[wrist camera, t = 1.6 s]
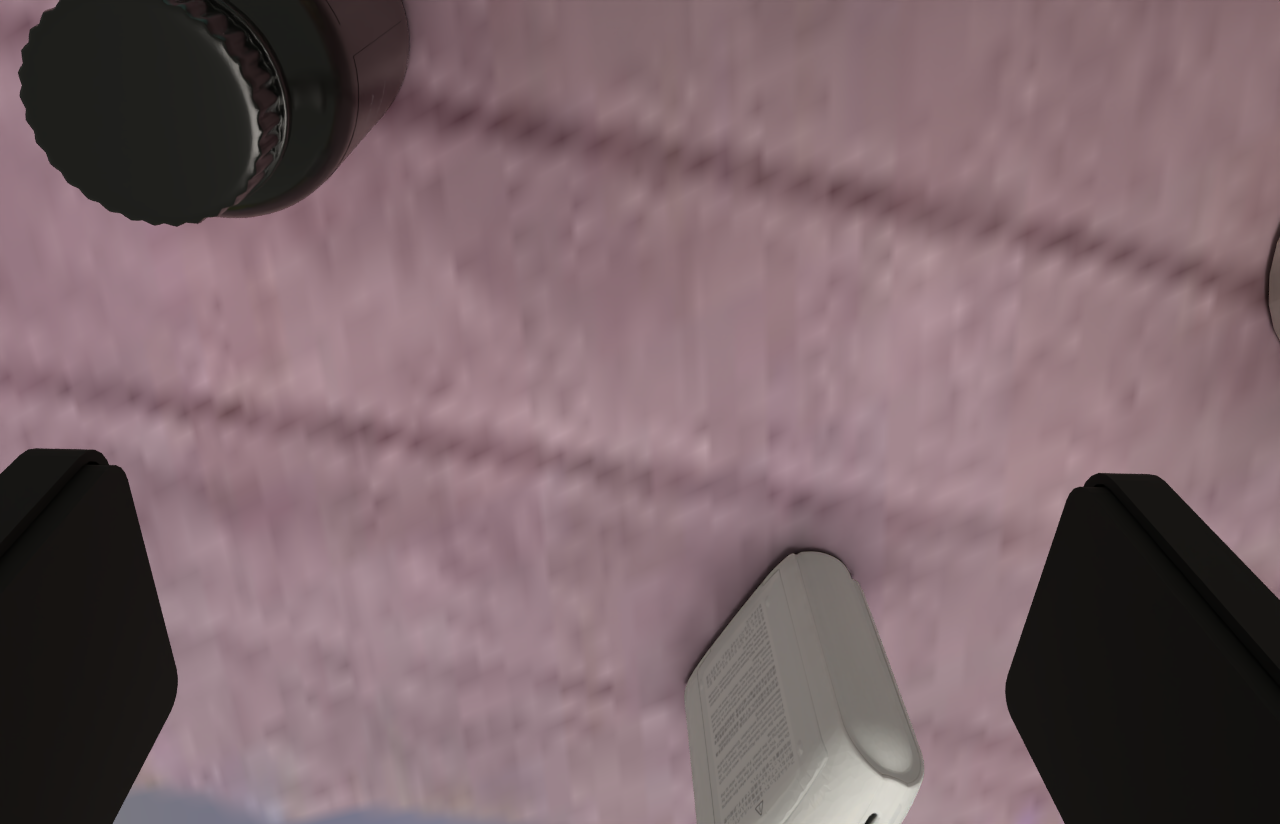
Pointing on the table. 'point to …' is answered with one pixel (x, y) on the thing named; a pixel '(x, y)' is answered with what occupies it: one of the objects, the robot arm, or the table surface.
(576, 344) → the table surface
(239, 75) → the supplement bottle
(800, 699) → the photo printer
